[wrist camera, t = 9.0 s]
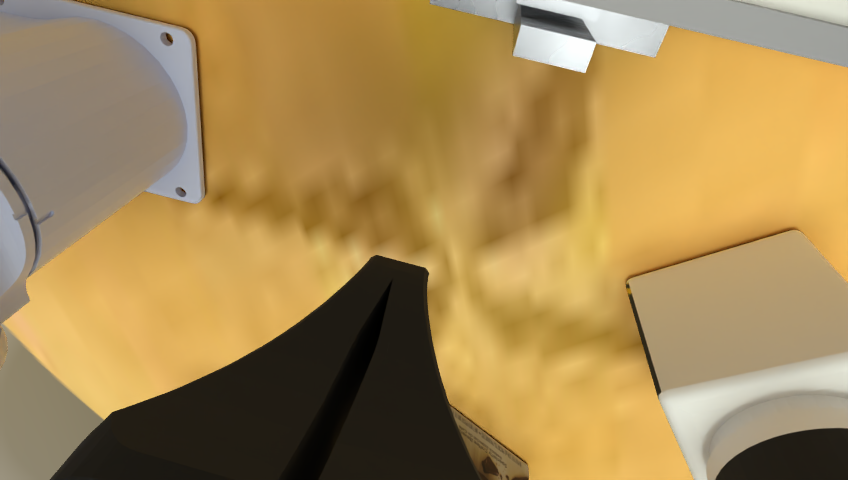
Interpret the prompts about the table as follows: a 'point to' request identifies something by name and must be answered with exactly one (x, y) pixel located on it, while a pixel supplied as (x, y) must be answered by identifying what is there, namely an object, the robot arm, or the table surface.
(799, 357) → the medicine bottle
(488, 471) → the coffee box
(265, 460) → the robot arm
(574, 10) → the pivot stand
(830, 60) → the beam
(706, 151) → the table surface
